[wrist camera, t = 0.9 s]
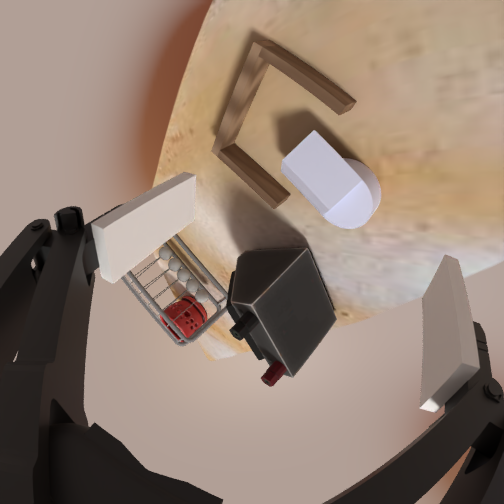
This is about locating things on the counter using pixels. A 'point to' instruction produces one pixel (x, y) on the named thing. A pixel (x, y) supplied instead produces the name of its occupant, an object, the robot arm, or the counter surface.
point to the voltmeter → (279, 308)
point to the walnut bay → (242, 99)
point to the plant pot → (185, 316)
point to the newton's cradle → (191, 286)
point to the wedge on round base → (333, 182)
